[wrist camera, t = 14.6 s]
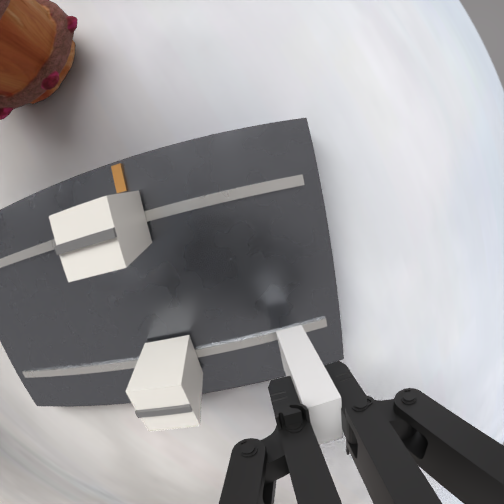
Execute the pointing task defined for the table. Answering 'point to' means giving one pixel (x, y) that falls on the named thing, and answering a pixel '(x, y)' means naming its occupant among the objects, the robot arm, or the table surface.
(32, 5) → the mug
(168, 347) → the fader far
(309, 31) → the table surface
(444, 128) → the table surface
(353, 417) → the robot arm
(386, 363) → the table surface
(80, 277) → the fader near
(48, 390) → the console
